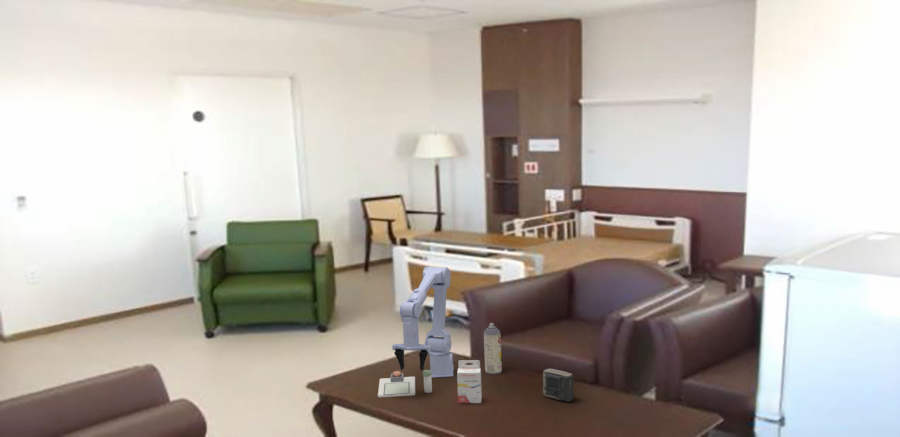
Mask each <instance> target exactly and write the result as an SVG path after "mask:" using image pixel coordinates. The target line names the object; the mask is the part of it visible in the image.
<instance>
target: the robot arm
mask: <svg viewBox="0 0 900 437" xmlns="http://www.w3.org/2000/svg"><path fill="white" fill-rule="evenodd" d="M451 273H452V272H451V271H450V269H449V267H448V266H444V267H443V266H425V267H424V268H423V271H422V280H421V282H420V284H419V285H418V287H417V288H414V289H413V291H412V292H411V294H410V296H408V298H407V300H406V301H404V302H402V303H401V304H400V307H399V315H400V317H401V322H402V329H403V330H402V333H403V343H394V344H392V345H391V346H392V351H394V355H395V357H396V359H397V361H398V364H399V368H400V370H401V371H402V370H404V368H405V359H404V358H405V351H413V352H414V351H415V352H416V351H417V352H418V356H419V370H420V371H422V372H423V371H424V370H425V368H424V367H425V363H426V360H427V357H428V354H429V367H430V368H429V370H431V372H432V375H431V377H432V378H433V379H434V378H447V377H454V370H455V369H454V367H455V366H454V363H453V362H454V360H453V352H451V349H452V337H451V333H449V331H448V330H446V327H445V324H446V310H447V308H446V306H447V293H448V292H447V290H448V288H450V287H451V286H450V285H451V276H452V274H451ZM431 288H432V289H433V293H434V294H433V308H432V309H433V312H432V325H431V326H432V327H431V329H430V330H428V331H427V332H426V334H425V335H426V336H425V340H424V344H421V343H420V336H419V334H420V333H419V331H420V330H419V317H420V316H421V312H422V309H423V308H422V307H423V304H424V303H425V301H426V300H427V297H428V295H427V293H428V292H429V290H430V289H431Z"/></svg>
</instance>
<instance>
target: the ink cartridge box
mask: <svg viewBox="0 0 900 437" xmlns="http://www.w3.org/2000/svg"><path fill="white" fill-rule="evenodd" d="M457 362H458V363H457V364H458V365H457V366H458V368H457V372H456V373H457V374H456V375H457V376H456V381H457V385H456V386H457V403H458V404H481V403H482V398H483V397H482V396H483V395H482V368H481V360H478V359H472V360H471V359H467V360H462V359H461V360H460V359H459V360H458V361H457ZM468 363H469V364H468Z"/></svg>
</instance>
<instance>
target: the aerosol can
mask: <svg viewBox="0 0 900 437" xmlns="http://www.w3.org/2000/svg"><path fill="white" fill-rule="evenodd" d="M501 338H502V337H501V330H500V329H498V328H497V327H496V325H494V323H493V322H491V323H489V326H488V327H486V329H484V331H483V348H484V349H483V350H484V351H483V352H484V370H485V371H484V372H485V374H487V375H499V374H502V372H503V366H502V365H503V363H502V339H501Z"/></svg>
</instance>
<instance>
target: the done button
mask: <svg viewBox="0 0 900 437" xmlns="http://www.w3.org/2000/svg"><path fill="white" fill-rule="evenodd" d="M401 373H402V372H401V371H400V370H395V371H393V372H392V374H393V377H401Z"/></svg>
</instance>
